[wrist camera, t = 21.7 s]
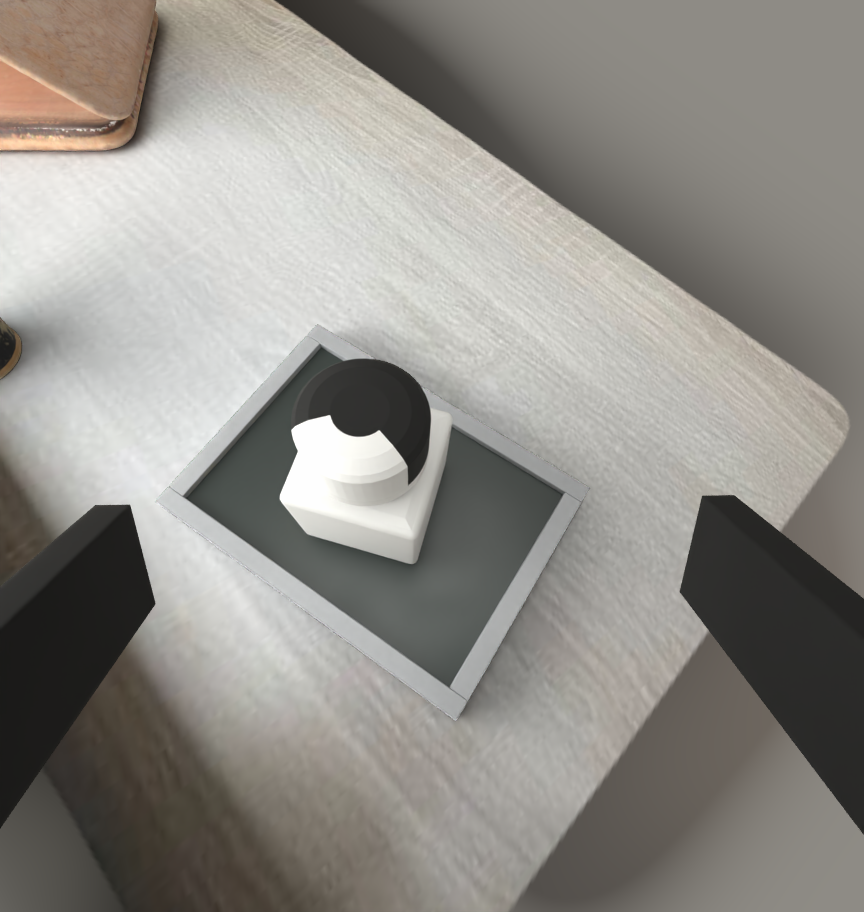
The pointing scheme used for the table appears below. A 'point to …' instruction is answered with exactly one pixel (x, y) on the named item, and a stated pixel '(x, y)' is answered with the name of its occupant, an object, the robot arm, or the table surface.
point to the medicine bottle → (366, 458)
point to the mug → (8, 348)
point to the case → (73, 72)
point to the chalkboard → (373, 576)
